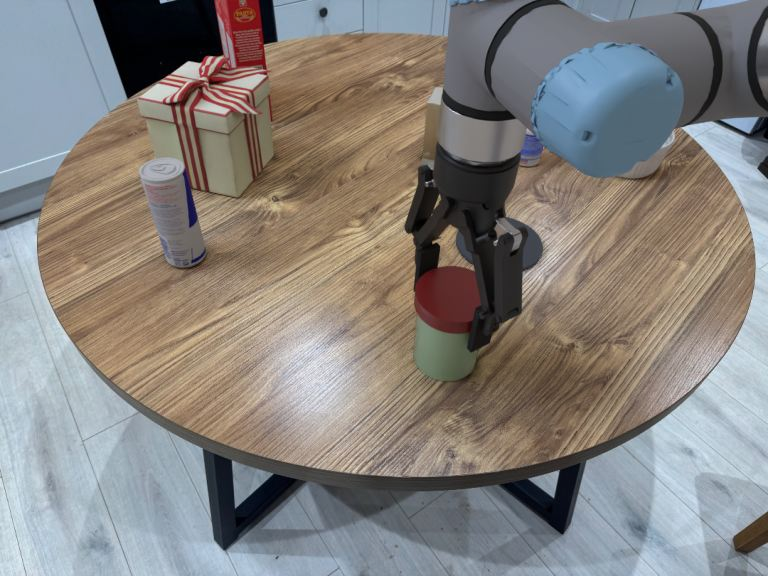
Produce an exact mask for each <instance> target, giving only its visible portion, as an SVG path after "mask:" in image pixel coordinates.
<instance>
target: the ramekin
mask: <svg viewBox="0 0 768 576" xmlns="http://www.w3.org/2000/svg"><path fill="white" fill-rule="evenodd" d="M675 141H676V133H675V132H674V130H673V132H672V133H671V135H670V136H669V138H668V139H667V141H666V142H665V143H664V144H663V146H662V147H661V148H660V149H659V150H658V151H657V152H656V153H655V154H654V155H653V156H652V157H650V158H649V159H648V160H647V161H645V162H644V161H639V162H637V163H636V164H635V165H634V167H633V168H632V169H631V170H630V171H629V172H627V173H625V174H622V175H619V176H617V177H619V178H623V179H632V180H635V179H643V178H646V177H648V176H650V175H651V174H654V173H655V172H656V171H657V169H659V167H660V166H661V165H662V163H663V161H664V158H665V157H666V156H667V154H668V152H669V151H670V150H671V149H672V147H673V146H674V143H675Z"/></svg>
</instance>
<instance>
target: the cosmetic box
mask: <svg viewBox="0 0 768 576" xmlns="http://www.w3.org/2000/svg"><path fill="white" fill-rule="evenodd" d="M442 93H443V87H441V86H435V87H434V88H433V90H432V92H430V95H429V97H428V99H427V101H426V106H425V107H426V108H425V119H424V120H425V121H424V132H423V145H422V155H421V166H424V165H426V164H429V163H432V162H434V160H435V151H436V145H437V142H438V139H437V128H438V120H439V112H440V104H441V96H442Z"/></svg>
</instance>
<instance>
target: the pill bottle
mask: <svg viewBox="0 0 768 576" xmlns="http://www.w3.org/2000/svg"><path fill="white" fill-rule="evenodd" d="M543 150H544V146H543V145H542V144H541V143H540V140H539V139H537V137H536V136H535V135H534V134H533V133H532V132H531V131H530V130H529V129H527V131H526V135H525V140H524V144H523V148H522V149H521V151H520V152H521V159H520V163H519V167H527V168H528V167H534V166H536V165H538V164H539V163H540V162H541V159H542V153H543Z"/></svg>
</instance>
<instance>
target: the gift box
mask: <svg viewBox="0 0 768 576" xmlns="http://www.w3.org/2000/svg"><path fill="white" fill-rule="evenodd" d="M229 60H230V58H227V57H224V56H211V55H206V56H205V57H203V60H202V61H201V63H199V62H195V61H190V60H188V61H186V62H185V63H184V64H182V65H181V66H179V67H178V68H177V69H176V70H174V71H173V72H171V73H170V74H168V75H167V76H165V77H164V78H163V79H162V80H160V81H158V82H157V83H156V84H155V85H154V86H152V87H150V89H148V90H147V91H146V92H144V93H143V94H141V95H140V96H139V97H138V98H137V100H136V101H137V104H138V109H139V112H140V117H141V118H144V119H145V123H146V127H147V130H148V135H149V138H150V142H151V147H152V149H153V154H154V159H157V158H175V159H178V160H180V161H181V162H183V164H184V166H185V169H186V172H187V176H188V180H189V184H190V188H191V189H196V190H199V191H204V192H208V193H209V192H210V193H214V194H220V195H222V196H223V195H224V196H227V197H232V198H237V199H238V198H240V197H241V196H242V195H243V194H244V192H245V191H246V190H247V189H248V188H249V186H251V184H252V183H253V182H254V181H255V180H256V179H257V177H258V176H259V174H260V173H262V172H263V170H264V168H265V167H266V166H267V165H268V164H269V163H270V161H271V160H272V159H273V158H274V156H275V150H274V149H275V148H274V139H273V130H272V129H273V128H272V122H271V118H270V109H269V99H268V96H269V95H270V96H271V84H270V77H269V76H268V75H267V76H266V75H261V74H264V73H267V74H268V73H271V72H272V70H271V69H270V70H269V69H267V70H262V69H258V68H253V67H249V66H245V67H234V68H226V67H224V65H225V63H226V61H229Z"/></svg>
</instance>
